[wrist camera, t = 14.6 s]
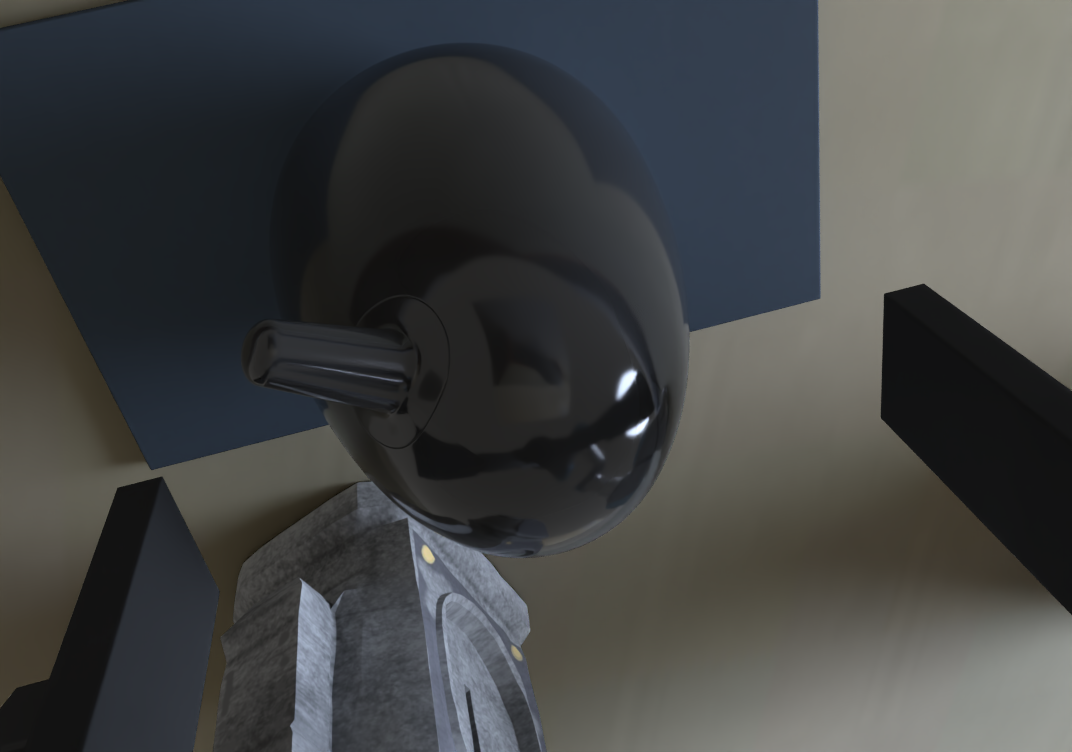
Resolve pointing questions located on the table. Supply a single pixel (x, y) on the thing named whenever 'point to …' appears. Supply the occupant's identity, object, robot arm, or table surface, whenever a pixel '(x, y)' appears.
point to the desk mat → (287, 104)
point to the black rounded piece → (480, 297)
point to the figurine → (374, 641)
